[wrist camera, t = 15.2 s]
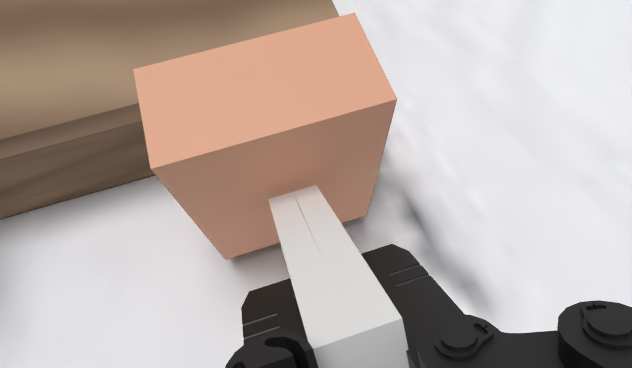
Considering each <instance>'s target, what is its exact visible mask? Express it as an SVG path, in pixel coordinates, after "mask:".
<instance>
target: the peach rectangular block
mask: <svg viewBox="0 0 632 368" xmlns="http://www.w3.org/2000/svg"><path fill="white" fill-rule="evenodd" d="M133 72H134V77H135V83H136V89H137V94H138V100H139V106H140V111H141V117H142V123H143V128H144V134H145V140H146V146H147V151H148V157H149V163H150V168H151V170H152V171H153V172H154V174H155V175H156V176H157V177H158V178H159V180H160V181H161V182H162V183H163V185H164V186H165V187H166V188H167V189H168V191H169V192H170V193H171V194H172V195H173V197H174V198H175V199H176V200H177V202H178V203H179V204H180V205H181V206H182V208H183V209H184V210H185V211H186V212H187V214H188V215H189V216H190V217H191V218H192V220H193V221H194V222H195V223H196V225H197V226H198V227H199V228H200V229H201V231H202V232H203V233H204V234H205V235H206V237H207V238H208V239H209V240H210V242H211V243H212V244H213V245H214V246H215V248H216V249H217V250H218V251H219V252H220V254H221V255H222V256H223V257H224V258H225V260H226V259H230V258H233V257H236V256H239V255H242V254H245V253H249V252H252V251H255V250H258V249H261V248H265V247H268V246H271V245H274V244H277V243H280V240H279V236H278V232H277V229H276V225H275V222H274V218H273V215H272V211H271V208H270V204H269V200H268V199H270V198H274V197H277V196H280V195H284V194H287V193H290V192H294V191H297V190H300V189H304V188H307V187H310V186H314V185H317V187H318V188H319V190H320V191H321V193H322V195H323V196H324V198H325V199H326V201H327V202H328V204H329V205H330V207H331V209H332V210H333V212H334V213H335V215H336V216H337V218H338V219H339V221H340V222H341V223H344V222H347V221H351V220H354V219H357V218H360V217H363V216H367V213H368V209H369V205H370V202H371V198H372V194H373V190H374V186H375V182H376V178H377V175H378V171H379V167H380V163H381V159H382V155H383V151H384V148H385V144H386V140H387V136H388V132H389V128H390V124H391V121H392V117H393V113H394V109H395V105H396V101H397V98H396V96H395V94H394V92H393V90H392V88H391V86H390V84H389V82H388V80H387V78H386V76H385V74H384V72H383V70H382V68H381V66H380V64H379V62H378V59H377V57H376V55H375V53H374V51H373V49H372V47H371V45H370V43H369V41H368V39H367V37H366V35H365V33H364V31H363V29H362V27H361V25H360V23H359V21H358V19H357V17H356V15H355V13H352V14H348V15H344V16H340V17H336V18H332V19H328V20H324V21H320V22H316V23H313V24H309V25H305V26H301V27H297V28H293V29H289V30H285V31H281V32H277V33H273V34H269V35H266V36H262V37H258V38H254V39H250V40H246V41H242V42H238V43H234V44H230V45H226V46H222V47H219V48H215V49H211V50H207V51H203V52H199V53H195V54H191V55H187V56H183V57H179V58H175V59H171V60H168V61H164V62H160V63H156V64H152V65H148V66H144V67H140V68H136V69H133Z"/></svg>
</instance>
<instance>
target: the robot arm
mask: <svg viewBox="0 0 632 368" xmlns="http://www.w3.org/2000/svg"><path fill="white" fill-rule="evenodd" d="M268 200H269V204H270V208H271V211H272V215H273V218H274V222H275V225H276V229H277V232H278V236H279V240H280V243H281V247H282V250H283V254H284V257H285V261H286V264H287V268H288V271H289V275H290V279H287V280H284V281H281V282H277V283H274V284H271V285H268V286H265V287H262V288H259V289H256V290H253V291H250V292H249V293H248V295H247V297H246V299H245V301H244V303H243V305H242V308H241V309H242V324H243V337H244V345H243V346H242V347H241V348H240V349H239V350H237V351H236V352H235V353H234V355H233V356H232V357H231V359H230V360H229V362H228V363H227V365H226V367H225V368H632V307H629V306H626V305H623V304H620V303H614V302H607V301H599V300H598V301H587V302H580V303H577V304H575V305H572V306H570V307H567V308H566V309H565V310H564V311H563V312H562V313H561V314H560V316H559V318H558V331H546V332H533V333H503V332H500V331H499V330H498V329H497V328H496V327H494V326H493V325H492V324H490V323H489V322H488V321H486V320H484V319H481V318H478V317H475V316H472V315H465V314H464V313H463V312H462V311H461V310H460V309H459V307H458V306H457V305H456V304H455V303H454V302H453V301H452V300H451V298H450V297H449V296H448V295H447V294H446V293H445V292H444V291H443V289H442V288H441V287H440V286H439V285H438V284H437V283H436V281H435V280H434V279H433V278H432V277H431V276H429V274H428V272H427V271H426V270H425V269H424V268H423V267H422V266H420V264H419V262H418V261H417V260H416V259H415V258H414V257H413V255H412V254H411V253H410V252H409V251H407V250H405V249H402V248H400V247H398V246H396V245H393V244H390V245H387V246H384V247H381V248H378V249H375V250H372V251H369V252H365V253H362V254H361V253H360V252H359V250H358V249H357V247H356V246H355V244H354V243H353V241H352V240H351V238H350V236H349V235H348V233H347V232H346V230H345V229H344V227H343V226H342V224H341V222H340V221H339V219H338V218H337V216H336V215H335V213H334V212H333V210H332V209H331V207H330V205H329V204H328V202H327V201H326V199H325V198H324V196H323V195H322V193H321V191H320V190H319V188H318V187H317V185H314V186H310V187H307V188H304V189H300V190H297V191H294V192H290V193H287V194H284V195H280V196H277V197H274V198H270V199H268Z"/></svg>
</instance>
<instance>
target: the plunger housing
mask: <svg viewBox="0 0 632 368" xmlns="http://www.w3.org/2000/svg"><path fill="white" fill-rule="evenodd" d="M336 17H339V15H338V12H337V10H336V8H335V6H334V4H333V2H332V0H0V219H2V218H5V217H9V216H12V215H16V214H19V213H23V212H26V211H30V210H33V209H37V208H40V207H44V206H47V205H51V204H54V203H58V202H61V201H65V200H69V199H72V198H76V197H79V196H83V195H86V194H90V193H93V192H97V191H100V190H104V189H107V188H111V187H114V186H118V185H121V184H125V183H128V182H132V181H135V180H139V179H142V178H146V177H149V176H153V175H155V174H154V172H153V171H152V170H151V168H150V163H149V157H148V151H147V146H146V140H145V134H144V128H143V123H142V117H141V111H140V106H139V100H138V94H137V89H136V83H135V77H134V72H133V69H136V68H140V67H144V66H148V65H152V64H156V63H160V62H164V61H168V60H171V59H175V58H179V57H183V56H187V55H191V54H195V53H199V52H203V51H207V50H211V49H215V48H219V47H222V46H226V45H230V44H234V43H238V42H242V41H246V40H250V39H254V38H258V37H262V36H266V35H269V34H273V33H277V32H281V31H285V30H289V29H293V28H297V27H301V26H305V25H309V24H313V23H316V22H320V21H324V20H328V19H332V18H336Z"/></svg>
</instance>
